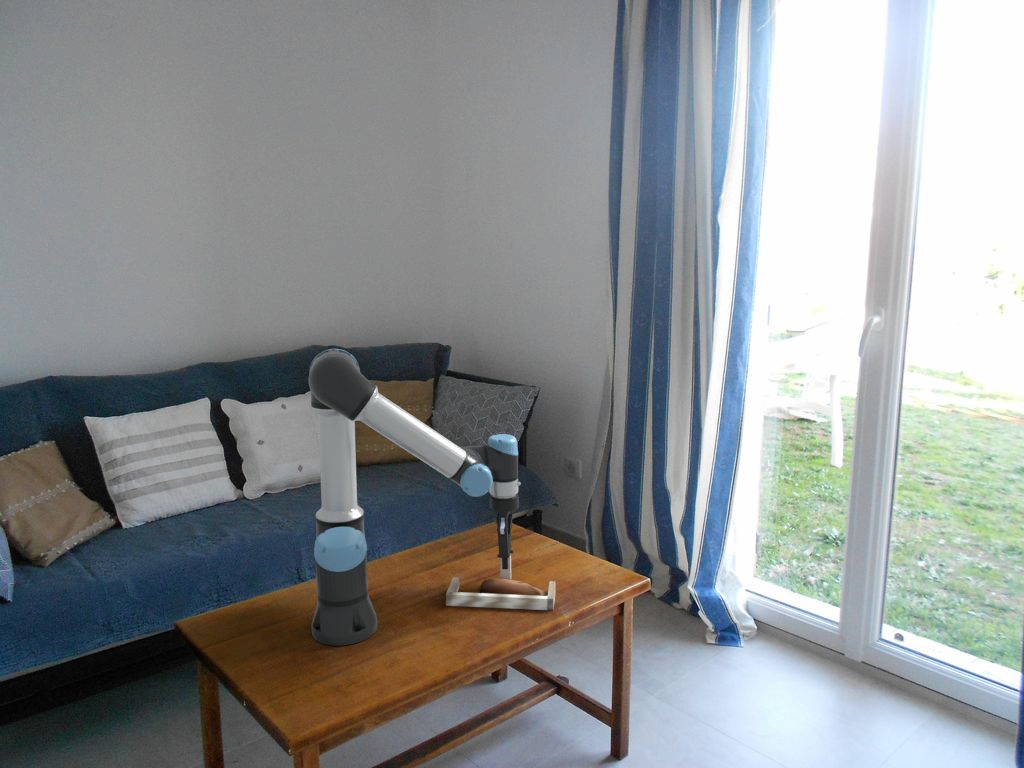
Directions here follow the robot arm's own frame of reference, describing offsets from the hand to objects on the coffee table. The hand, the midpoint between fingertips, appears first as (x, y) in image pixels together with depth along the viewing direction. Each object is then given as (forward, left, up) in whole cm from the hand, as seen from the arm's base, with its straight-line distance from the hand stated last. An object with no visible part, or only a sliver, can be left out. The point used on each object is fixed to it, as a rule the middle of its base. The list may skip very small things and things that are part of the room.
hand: (505, 578), depth 199 cm
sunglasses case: (+3, -4, -3) cm, 6 cm away
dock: (0, -8, -2) cm, 8 cm away
